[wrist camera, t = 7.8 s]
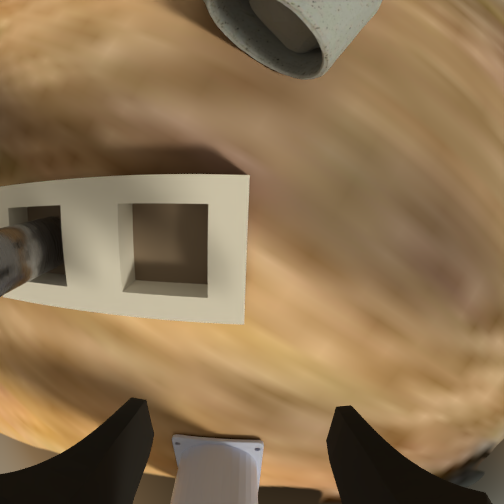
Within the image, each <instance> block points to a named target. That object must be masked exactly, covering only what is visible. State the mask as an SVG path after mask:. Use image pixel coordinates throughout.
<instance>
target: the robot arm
mask: <svg viewBox="0 0 504 504" xmlns="http://www.w3.org/2000/svg"><path fill="white" fill-rule="evenodd" d="M153 437H154V432H153V428H152V424H151V419H150V415H149V411H148V406H147V401H146V400H143V399H137V398H130V399H129V400H128V401H127V402H126V403H125V404H124V405H123V406H122V407H121V408H119V409H118V410H117V411H116V412H115V413H114V414H113V415H112V416H111V417H110V418H109V419H107V420H106V421H105V422H104V423H103V424H102V425H100V426H99V427H98V428H97V429H96V430H94V431H93V432H92V433H91V434H89V435H88V436H87V437H85V438H84V439H83V440H81V441H80V442H78V443H77V444H75V445H74V446H72V447H71V448H69V449H68V450H66V451H64V452H63V453H61V454H59V455H57V456H55V457H53V458H51V459H49V460H46V461H44V462H42V463H40V464H37V465H34V466H31V467H28V468H25V469H22V470H19V471H15V472H10V473H5V474H0V504H132V503H133V500H134V497H135V494H136V491H137V488H138V485H139V483H140V480H141V477H142V475H143V472H144V469H145V466H146V464H147V461H148V458H149V455H150V451H151V447H152V442H153ZM326 441H327V448H328V455H329V461H330V464H331V468H332V471H333V475H334V478H335V481H336V484H337V488H338V491H339V494H340V498H341V501H342V504H492V503H491V501H490V499H489V498H488V496H487V495H486V493H484V492H480V491H476V490H472V489H468V488H464V487H461V486H459V485H456V484H453V483H450V482H448V481H446V480H443V479H441V478H439V477H437V476H435V475H433V474H431V473H429V472H427V471H426V470H424V469H422V468H421V467H419V466H418V465H416V464H415V463H413V462H411V461H410V460H408V459H407V458H406V457H404V456H403V455H402V454H401V453H399V452H398V451H397V450H396V449H394V448H393V447H392V446H391V445H390V444H389V443H388V442H386V441H385V440H384V439H383V438H382V437H381V436H380V435H379V434H378V433H377V432H376V431H375V430H374V429H373V428H372V427H371V426H370V425H369V424H368V423H367V422H366V421H365V420H364V419H363V418H362V417H361V415H360V414H359V413H358V412H357V411H356V410H355V409H354V408H353V407H352V406H340V407H336V409H335V413H334V416H333V420H332V423H331V427H330V430H329V433H328V437H327V440H326ZM172 443H173V447H174V452H175V456H176V461H177V465H178V471H177V476H176V480H175V485H174V490H173V494H172V499H171V504H258V488H259V481H260V472H261V464H262V455H263V447H264V444H263V441H261V440H240V439H220V438H207V437H196V436H187V435H178V434H175V435H173V436H172Z"/></svg>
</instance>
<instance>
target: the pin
mask: <svg viewBox="0 0 504 504" xmlns="http://www.w3.org/2000/svg"><path fill="white" fill-rule="evenodd" d="M62 264H64V254H63V243H62V229H61V219H59V218H57V217H54V216H50V217H45V218H41V219H36V220H32V221H27V222H23V223H19V224H15V225H11V226H7V227H3V228H0V297H1V296H2V295H4V294H6V293H8V292H10V291H12V290H13V289H15V288H17V287H19V286H21V285H23V284H25V283H27V282H29V281H30V280H32V279H34V278H36V277H38V276H40V275H42V274H44V273H46V272H48V271H50V270H52V269H54V268H56V267H58V266H60V265H62Z"/></svg>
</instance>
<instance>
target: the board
mask: <svg viewBox="0 0 504 504" xmlns="http://www.w3.org/2000/svg"><path fill="white" fill-rule="evenodd" d="M249 179H250V175H224V174H153V175H123V176H103V177H87V178H74V179H62V180H51V181H41V182H32V183H24V184H16V185H8V186H1V187H0V228H3V227H7V226H11V225H15V224H19V223H23V222H27V221H32V220H36V219H41V218H45V217H50V216H54V217H57V218H59V219H61V229H62V243H63V254H64V264H62V265H60V266H58V267H56V268H54V269H52V270H50V271H48V272H46V273H44V274H42V275H40V276H38V277H36V278H34V279H32V280H30V281H29V282H27V283H25V284H23V285H21V286H19V287H17V288H15V289H13V290H12V291H10V292H8V293H6V294H4V295H3V297H6V298H11V299H16V300H21V301H26V302H32V303H38V304H43V305H49V306H55V307H62V308H68V309H75V310H82V311H90V312H97V313H105V314H113V315H122V316H131V317H141V318H151V319H163V320H175V321H188V322H204V323H222V324H244V312H245V284H246V257H247V230H248V204H249Z"/></svg>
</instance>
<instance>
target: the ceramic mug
mask: <svg viewBox="0 0 504 504" xmlns="http://www.w3.org/2000/svg"><path fill="white" fill-rule="evenodd" d="M203 1H204V2H205V4H206V7H207V10H208V12H209V14H210V16H211V17H212V19H213V21H214V23H215V24H216V25H217V26H218V28H219V29H220V30H221V31H222V32H223V33H224V34H225V35H226V36H227V37H228V38H229V39H230V40H231V41H232V42H233V43H234V44H235V45H236V46H237V47H239V48H240V49H241V50H243V51H244V52H246V53H247V54H249V55H250V56H251V57H252V58H254V59H255V60H257V61H259V62H260V63H262V64H264V65H265V66H267V67H269V68H270V69H273V70H275V71H277V72H279V73H281V74H284V75H287V76H290V77H293V78H297V79H305V80H307V79H315V78H318V77H321V76H322V75H323V74H325V73H326V72H327V71H328V70H329V68H330V67H331V66H332V65H333V63H334V62H335V61H336V59H337V58H338V57H339V56H340V55H341V53H342V52H343V51H344V50H345V49H346V48H347V46H348V45H349V44H350V43H351V42H352V40H353V39H354V38H355V37H356V35H357V34H358V33H359V32H360V30H361V29H362V28H363V27H364V26H365V25H366V24H367V22H368V21H369V20H370V19H371V18H372V17H373V16H374V15H375V14H376V12H377V10H378V9H379V7H380V4H381V3H382V0H203Z"/></svg>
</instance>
